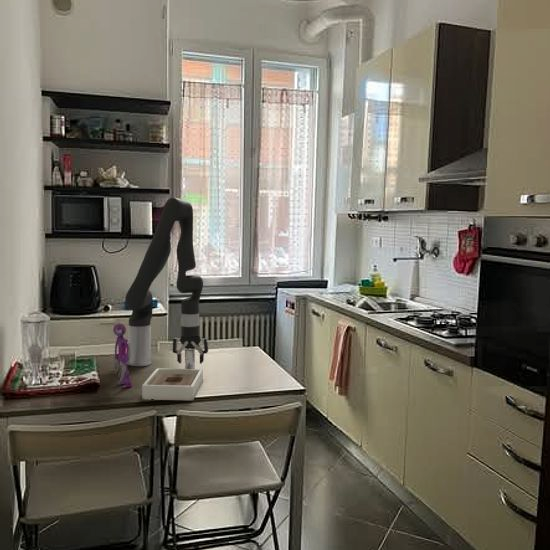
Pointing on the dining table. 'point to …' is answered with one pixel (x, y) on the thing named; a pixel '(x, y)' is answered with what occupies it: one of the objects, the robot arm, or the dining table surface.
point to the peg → (189, 358)
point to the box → (172, 386)
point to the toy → (121, 355)
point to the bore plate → (174, 379)
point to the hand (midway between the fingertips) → (190, 363)
